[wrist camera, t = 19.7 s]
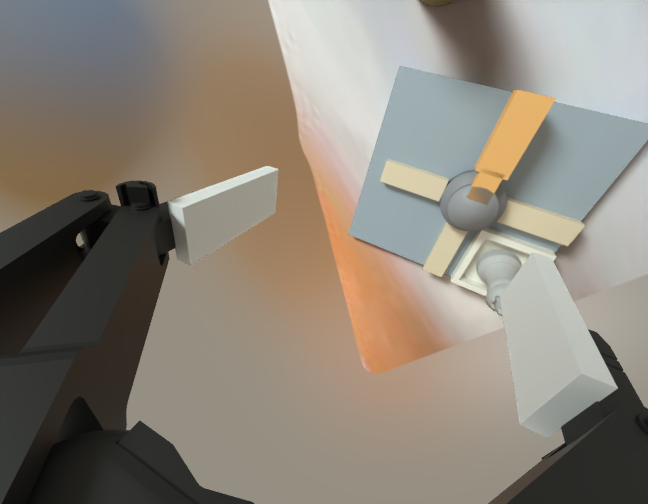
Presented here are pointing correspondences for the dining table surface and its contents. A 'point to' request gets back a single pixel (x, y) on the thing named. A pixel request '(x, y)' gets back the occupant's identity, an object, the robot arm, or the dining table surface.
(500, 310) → the rook chess piece
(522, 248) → the socket
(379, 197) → the base plate with blocks
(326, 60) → the dining table surface
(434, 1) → the brown pawn piece
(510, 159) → the hinged leg
